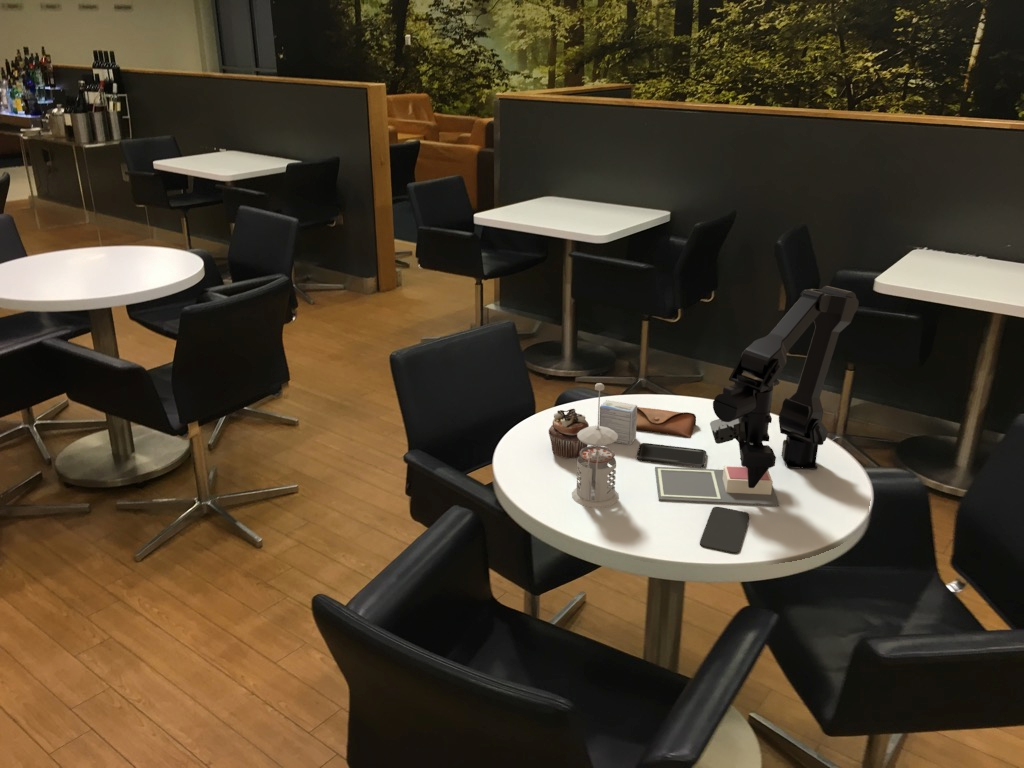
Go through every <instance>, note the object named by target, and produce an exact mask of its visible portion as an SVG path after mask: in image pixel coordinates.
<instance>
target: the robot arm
mask: <svg viewBox="0 0 1024 768" xmlns="http://www.w3.org/2000/svg"><path fill="white" fill-rule="evenodd" d="M859 303H860V301H859V300H858V298H857V295H856V293H855V292H853V291H850V290H846V289H841V288H838V287H833V286H829V285H824V286H823V287H822V288H821V289H816V288H809V289H803V290H802V291H801V292H800V294H799V297H798V300H797V301H796V302H795V303H794V304H793V306H792V307H791V308H790V309H789V310H788V312H786V313H785V315H784V316H783V317H782V319H781V320H779V322H778V323H777V325H775V327H774V328H773V329H772V330H771V331H770V332H769V334H768V335H766V336H763V337H761V338H757V339H756V340H754V341H753V342H752V343H750V345H749V346H748V347H746V348H745V349H744V351H742V353H741V354H740V357H739V359H738V360H737V362H736V364H735V366H734V368H733V369H732V372H731V374H730V376H729V377H728V381H729V382H732V383H734V384H731V385H727V386H725V387H723V388H722V392H721V393H718V394H717V395H716V396H715V397H714V400H713V401H712V408H713V412H714V415H716V417H717V419H713V420H711V421H710V422H709V426H710V429H711V433H712V436H713V439H714V442H715V444H719V445H720V444H723V443H727V442H730V441H731V442H732V441H733V440H736V441H737V442H738V447H739V449H738V450H739V455H740V458H739V459H740V464H741V467H747V477H748V487H749V488H754V487H755V486H756V485H757V483H758V482H759V481H760V479H761V478H762V476H763V475H764V474H765V473H766V471H767V470H768V471H769V470H770V469H771V468H773V467H775V466H776V461H777V460H776V458H777V457H776V454H775V452H774V450H773V448H772V447H770V446H769V445H767V444H766V445H765V444H764V443H763V442H770V435H769V424H771V423H772V415H771V408H772V401H773V400H772V399H773V392H774V387H775V386H777V385H780V384H781V383H780V382H781V381H780V380H779V379H778V377H779V376H780V374H781V373H782V371H783V369H785V368H784V367H785V366H786V364H787V354H788V352H789V351H790V350H791V349H792V347H793V346H794V345H795V344H796V343H797V341H798V340H799V339H800V337H801V336H803V334H804V333H805V332H806V330H807V329H808V328H809V327H810V325H811V324H813V323H814V326H815V328H814V331H813V335H812V338H811V341H810V345H809V348H808V351H807V355H806V359H805V361H804V364H803V368H802V372H801V374H800V377H799V378H800V379H799V380H798V384H797V388H796V391H795V393H793V394H792V395H791V396H790V397H786V398H784V400H783V402H782V404H781V409H780V411H779V414H778V424H779V431H780V434H782V435H785V436H786V438H785V439H784V440H783V442H782V449H781V455H780V456H781V458H782V460H783V462H784V463H785V466H786V467H787V468H789V469H790V468H792V469H811V470H817V469H818V464H817V457H818V456H817V455H818V450H819V446H822V445H824V442H825V441H826V440H827V439H828V434H829V430H828V429H827V428H826V426H825V424H824V423H823V422H822V420H823V416H824V408H823V406H822V402H821V394H822V392H823V388H824V385H825V381H826V377H827V374H828V372H829V368H830V364H831V363H832V362H831V361H832V358H833V355H834V352H835V348H836V345H837V342H838V339H839V336H840V333H841V332H842V331H844V329H846V328H847V326H849V325H850V324H851V323H852V320H853V319H854V316H855V314H856V312H857V311H858V308H859ZM744 374H746V375H744ZM747 375H750V376H752V377H755V378H752V377H750V376H747Z"/></svg>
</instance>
